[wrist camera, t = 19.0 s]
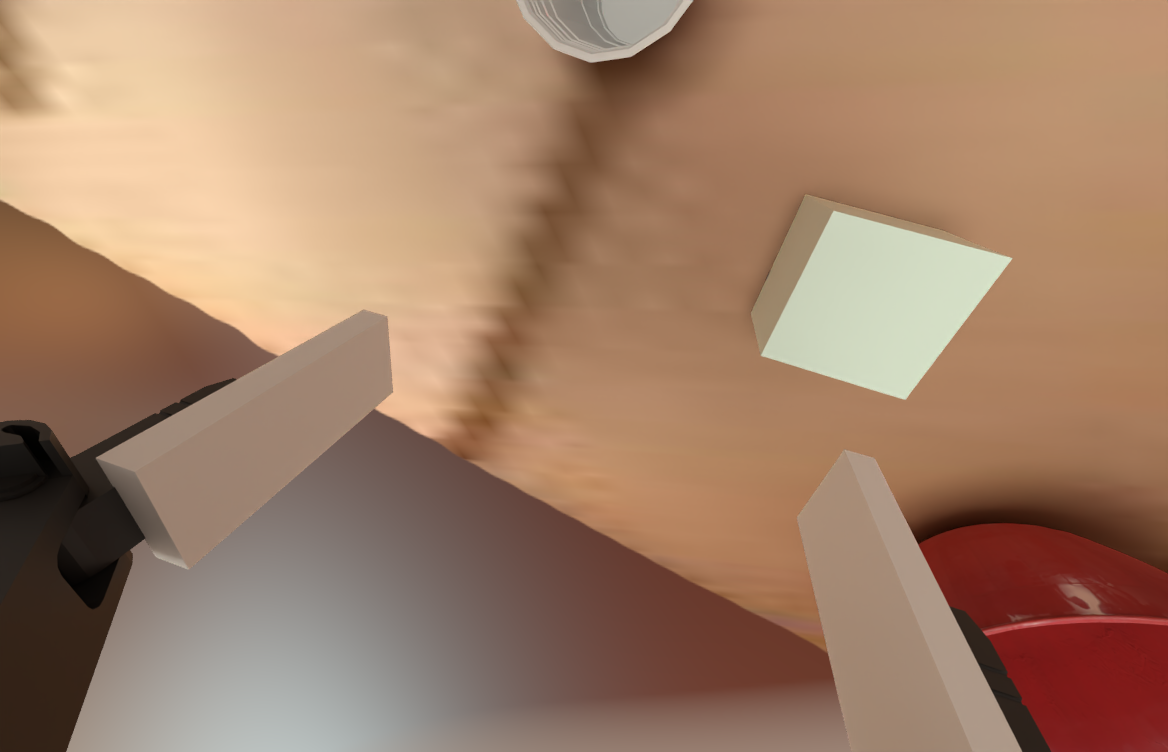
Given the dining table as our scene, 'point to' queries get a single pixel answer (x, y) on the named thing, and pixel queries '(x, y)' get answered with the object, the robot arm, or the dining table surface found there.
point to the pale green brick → (868, 295)
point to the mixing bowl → (1066, 629)
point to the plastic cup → (602, 25)
